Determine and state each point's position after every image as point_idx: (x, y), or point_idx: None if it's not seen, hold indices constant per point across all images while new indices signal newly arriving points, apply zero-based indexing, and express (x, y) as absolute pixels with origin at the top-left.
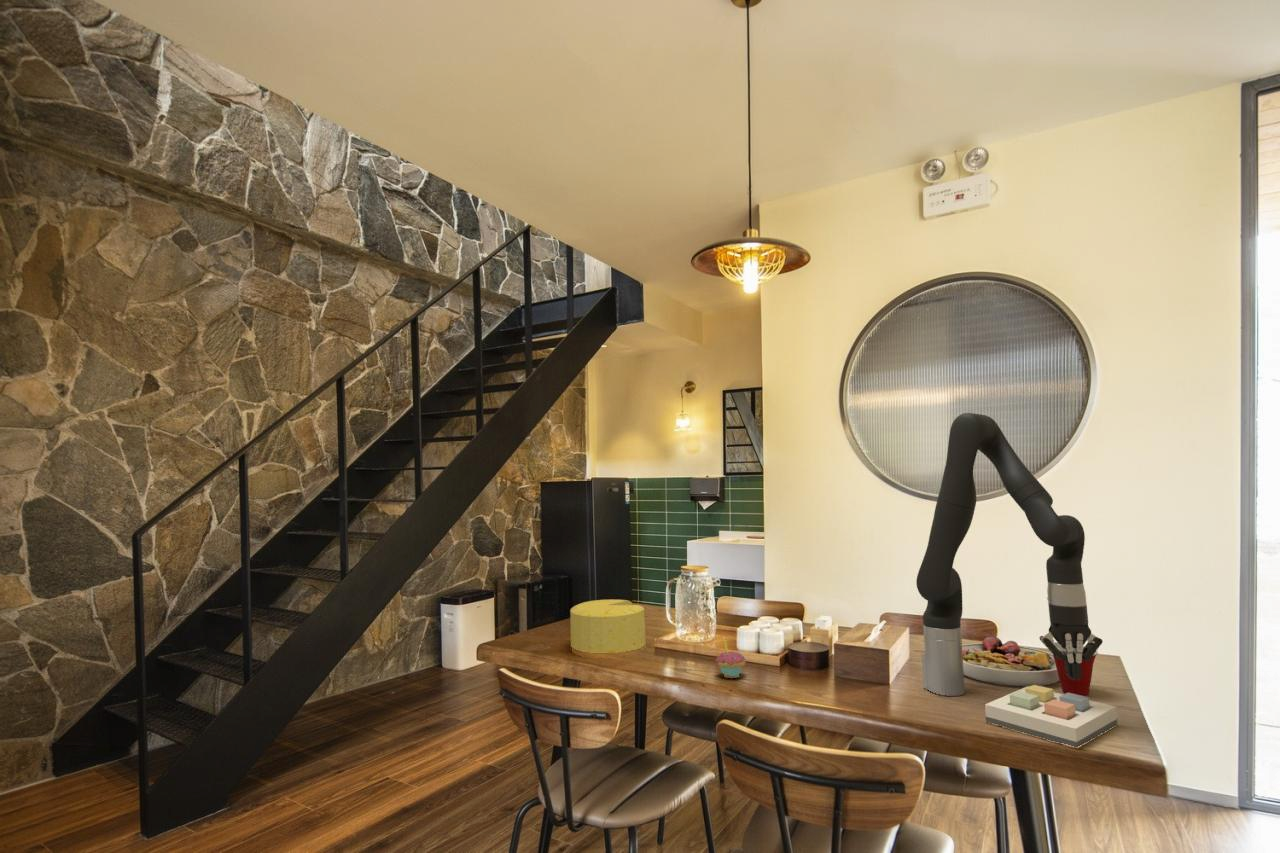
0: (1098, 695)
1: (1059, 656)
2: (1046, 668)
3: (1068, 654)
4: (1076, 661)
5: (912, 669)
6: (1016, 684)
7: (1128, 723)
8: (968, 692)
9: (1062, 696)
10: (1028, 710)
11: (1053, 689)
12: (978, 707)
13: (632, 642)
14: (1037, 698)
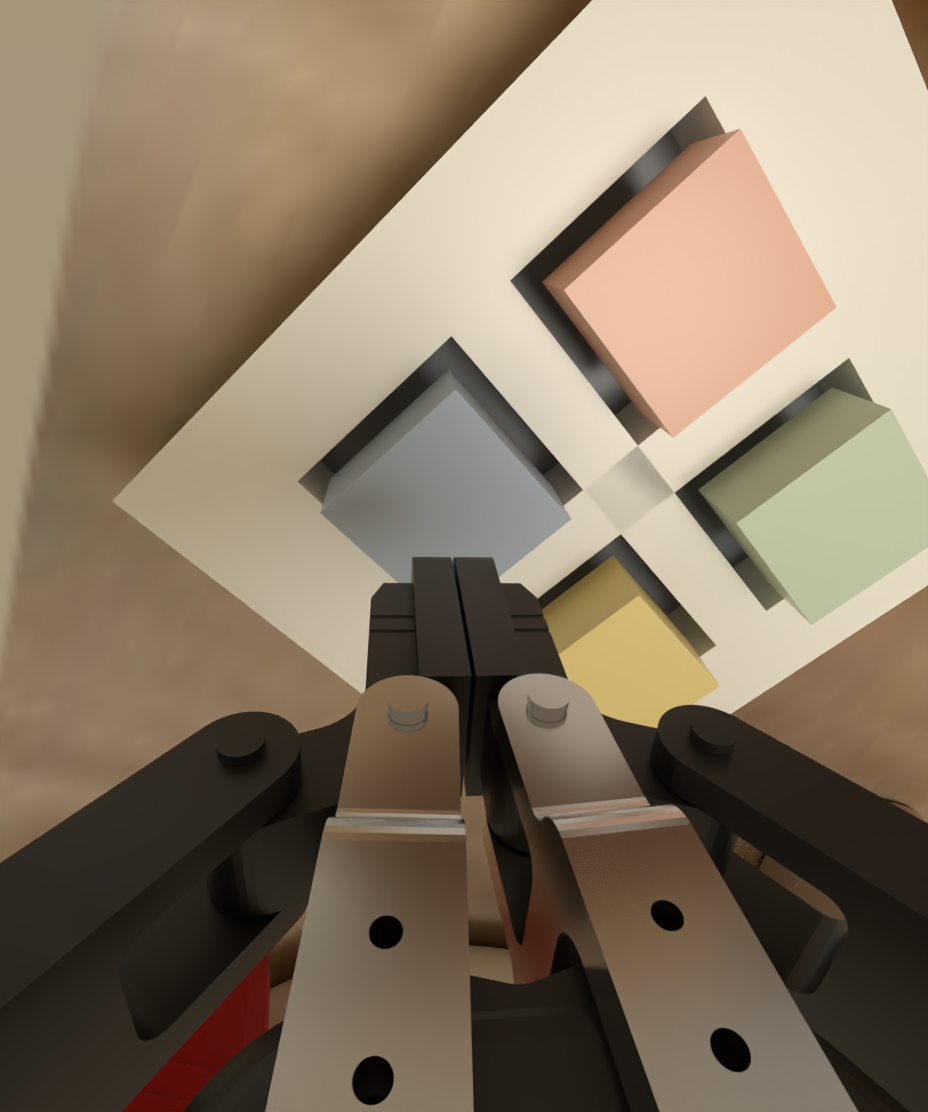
0: None
1: (763, 756)
2: None
3: (611, 793)
4: (451, 696)
5: None
6: (472, 947)
7: (75, 498)
8: (742, 856)
9: (544, 520)
10: (871, 361)
11: None
12: (835, 677)
13: None
14: (750, 500)
